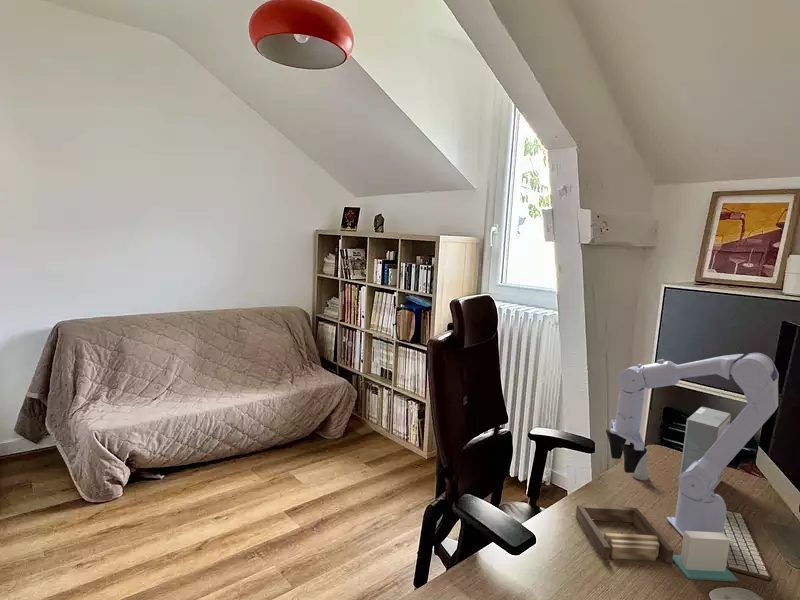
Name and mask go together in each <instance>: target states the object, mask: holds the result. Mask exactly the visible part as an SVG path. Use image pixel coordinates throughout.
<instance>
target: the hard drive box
mask: <svg viewBox="0 0 800 600" xmlns="http://www.w3.org/2000/svg"><path fill="white" fill-rule="evenodd" d="M731 415H732V414H731V413H729V412H725V411H722V410H717V409H713V408H709V407H705V406H700V407H699V408H698V409H697V410H696V411H695V412H693V414H691V415H690V416H689V417H688V418H686V424H685V433H684V441H683V448H682V455H681V461H680V462H681V463H680V471H679V476H680V475H681V474H682V473H683V472H685V471H686V470H687V469H688V468H689V467H690V465H691V464H692V463H693V462H695V461H698V460H700V459H701V458H702V457H703V456H704V455H705V454H706V453H707V451H708V450H709V449H710V448H711V447H712V445H713V444H714V443H715V442H716V441H717V440H718V438H719V437H720V436H721V435H722V434H723V432H724V431H725V430H726V429H727V428H728V427H729V425H730V424H731ZM724 471H725V468H724V469H723V470H722V472H721V473H720V475H719V481H718V483H717V484H716V485H715V486H714V487H713V488H712V489H713V491H715V489H716V488H717V487H718V486H719V484H720V483H721V482H722V480H723V476H724ZM677 487H678V488H679V484H678V485H677Z"/></svg>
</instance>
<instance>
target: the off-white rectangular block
mask: <svg viewBox="0 0 800 600" xmlns="http://www.w3.org/2000/svg"><path fill="white" fill-rule="evenodd" d="M730 543H731V539H730V538H729V537H728V536H727V535H726V534H725V533H720V532H699V531H684V536H682V543H681V545H682V546H681V551H680V555H681V556H680V563H681V564H682V565H683V566H684V568H685V569H686V570H704V571H725V569H726V568H727V563H728V562H727V561H728V557H729V550H730V545H731V544H730Z"/></svg>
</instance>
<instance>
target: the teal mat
mask: <svg viewBox="0 0 800 600" xmlns="http://www.w3.org/2000/svg"><path fill="white" fill-rule="evenodd" d="M680 556H681V554H673V558H672V563H673V562H674V564H675V566H676V567H677V568H678V569H679V570H680V571H681V573H682V574H683V575H684V576H685V577H686V578H687V579H688V580H698V581H700V580H701V581H702V580H703V581H722V582H736V583H737V582H738V581H739V579H738V577H736V576H735V575H734V573H732V572H731V571H730V569H728V568H727V567H726V569H725V571H704V570H686V569H685V568H684V566H683V565H682V564H681V563H680Z"/></svg>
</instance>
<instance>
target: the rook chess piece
mask: <svg viewBox="0 0 800 600" xmlns="http://www.w3.org/2000/svg"><path fill="white" fill-rule="evenodd" d="M649 457H650V453H649V451H648V450H647V453H646V454H645V455H644V456H643V457H642V458H641V459H640V461H639V463H638V465H637V467H636V470H635V472H634V473H631V475H632V477H633V478H634V479H636V480H637V481H642V482H643V481H647V480H648V479H650V478H649V475H650V473H649V469H648V468H647V466H648V465H647V464H648V462H649V461H648V458H649Z"/></svg>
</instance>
